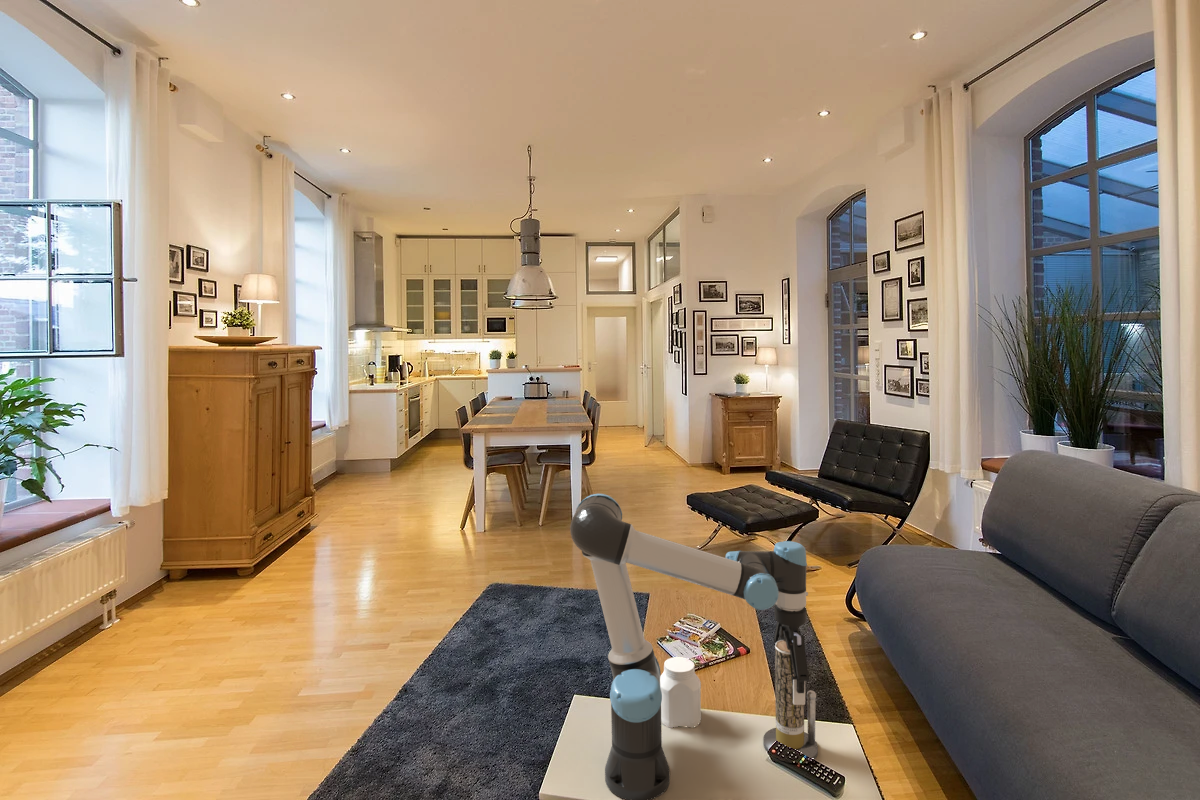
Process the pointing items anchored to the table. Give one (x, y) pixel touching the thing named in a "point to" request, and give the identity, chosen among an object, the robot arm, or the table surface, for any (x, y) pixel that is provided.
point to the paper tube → (787, 701)
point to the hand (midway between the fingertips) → (790, 688)
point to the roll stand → (809, 739)
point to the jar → (680, 693)
